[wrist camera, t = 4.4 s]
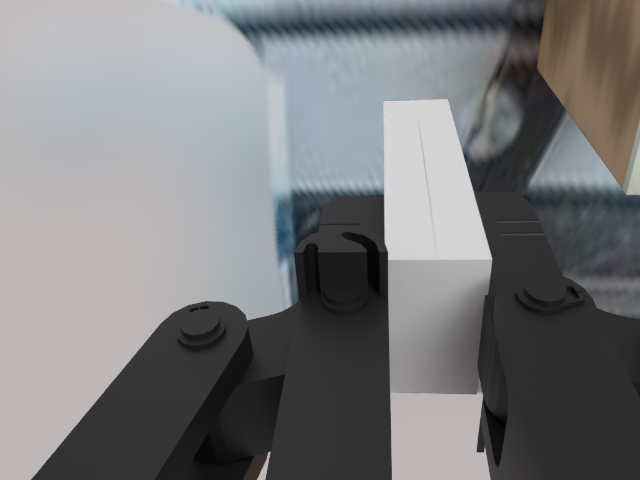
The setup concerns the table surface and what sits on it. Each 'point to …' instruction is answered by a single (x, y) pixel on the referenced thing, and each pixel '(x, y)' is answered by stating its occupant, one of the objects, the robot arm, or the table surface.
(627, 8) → the block
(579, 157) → the table surface
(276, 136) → the table surface
